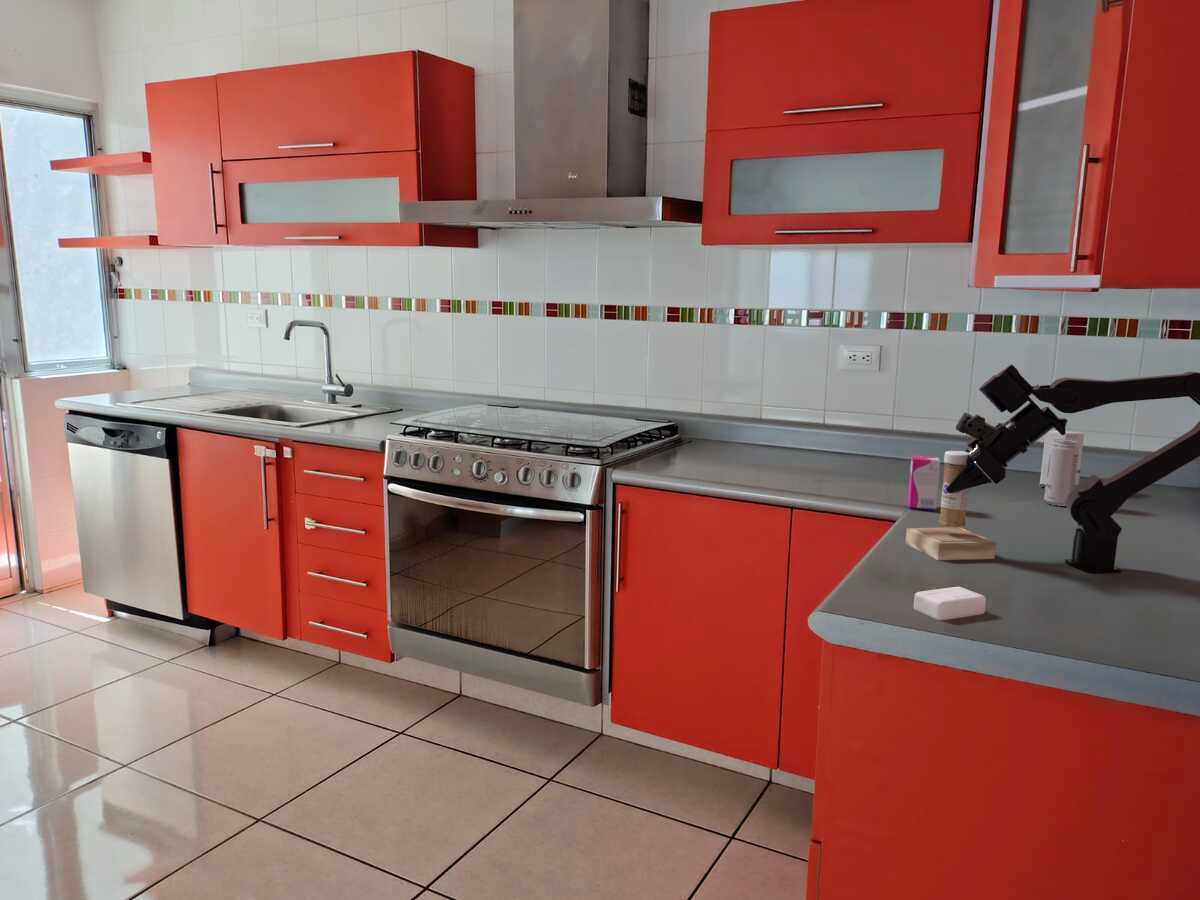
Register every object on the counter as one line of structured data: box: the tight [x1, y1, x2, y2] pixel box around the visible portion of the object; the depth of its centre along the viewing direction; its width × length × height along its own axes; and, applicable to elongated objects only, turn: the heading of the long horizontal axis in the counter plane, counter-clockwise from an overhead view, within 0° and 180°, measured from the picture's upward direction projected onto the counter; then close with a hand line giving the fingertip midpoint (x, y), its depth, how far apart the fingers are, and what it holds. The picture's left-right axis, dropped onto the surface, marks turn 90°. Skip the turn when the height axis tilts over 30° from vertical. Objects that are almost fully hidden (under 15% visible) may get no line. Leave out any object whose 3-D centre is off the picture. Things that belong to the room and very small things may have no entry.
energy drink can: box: [1043, 439, 1079, 504], centre depth 207 cm, size 6×6×15 cm
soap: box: [913, 586, 987, 621], centre depth 129 cm, size 9×6×3 cm, turn 114°
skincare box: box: [1039, 430, 1085, 485], centre depth 227 cm, size 8×6×15 cm
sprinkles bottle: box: [938, 450, 971, 528], centre depth 161 cm, size 5×5×14 cm
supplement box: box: [907, 455, 941, 512], centre depth 199 cm, size 6×6×12 cm
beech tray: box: [904, 527, 997, 561], centre depth 162 cm, size 11×11×3 cm
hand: (947, 489), depth 161 cm, fingers closed on sprinkles bottle, 4 cm apart
